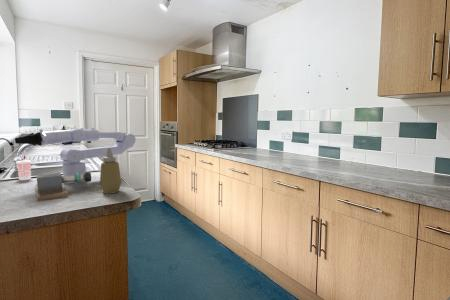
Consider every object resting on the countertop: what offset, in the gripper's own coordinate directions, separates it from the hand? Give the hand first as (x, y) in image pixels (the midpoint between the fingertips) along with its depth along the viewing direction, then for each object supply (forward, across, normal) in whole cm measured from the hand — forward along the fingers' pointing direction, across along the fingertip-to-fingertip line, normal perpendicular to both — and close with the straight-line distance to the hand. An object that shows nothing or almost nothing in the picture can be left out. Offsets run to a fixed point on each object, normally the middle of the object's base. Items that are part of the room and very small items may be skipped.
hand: (17, 140), depth 111 cm
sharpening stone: (-6, +13, +22) cm, 26 cm away
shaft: (-13, +14, +20) cm, 28 cm away
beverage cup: (-5, -24, +20) cm, 32 cm away
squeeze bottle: (-22, +30, +24) cm, 45 cm away
